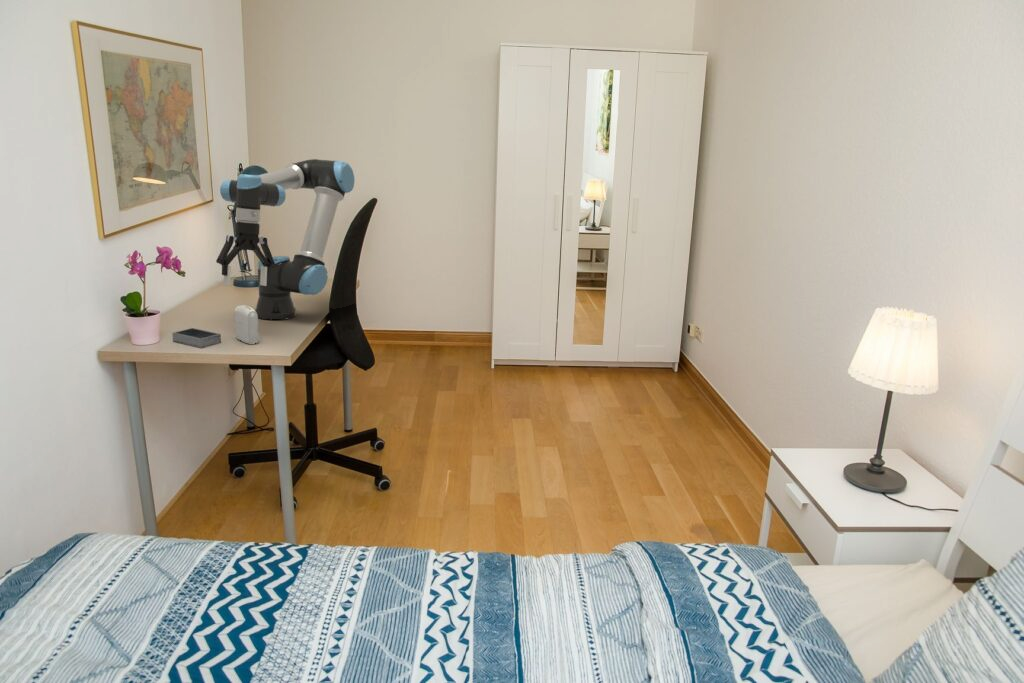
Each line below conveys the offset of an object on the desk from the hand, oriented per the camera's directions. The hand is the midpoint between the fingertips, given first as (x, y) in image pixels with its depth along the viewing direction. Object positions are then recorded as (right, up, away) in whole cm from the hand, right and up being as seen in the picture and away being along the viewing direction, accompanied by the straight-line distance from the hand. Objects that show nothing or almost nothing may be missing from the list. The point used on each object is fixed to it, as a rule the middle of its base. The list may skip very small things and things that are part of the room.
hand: (245, 285), depth 247 cm
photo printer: (-1, -19, +4) cm, 19 cm away
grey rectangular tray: (-16, -19, -1) cm, 25 cm away
